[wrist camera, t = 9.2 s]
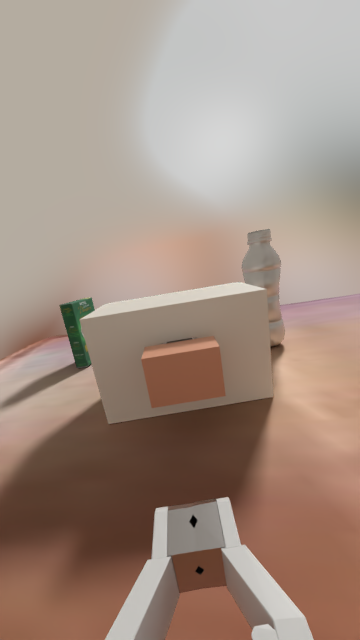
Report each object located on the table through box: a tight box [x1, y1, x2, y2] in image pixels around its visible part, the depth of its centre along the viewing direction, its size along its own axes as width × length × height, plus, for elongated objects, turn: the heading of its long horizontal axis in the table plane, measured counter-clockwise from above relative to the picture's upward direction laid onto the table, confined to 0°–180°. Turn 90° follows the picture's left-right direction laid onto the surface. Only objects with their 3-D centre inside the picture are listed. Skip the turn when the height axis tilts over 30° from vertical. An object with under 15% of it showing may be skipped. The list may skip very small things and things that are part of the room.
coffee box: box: [60, 298, 95, 368], centre depth 48 cm, size 8×3×13 cm, turn 173°
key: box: [141, 336, 226, 408], centre depth 25 cm, size 10×7×5 cm
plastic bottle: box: [242, 229, 285, 346], centre depth 40 cm, size 6×7×20 cm
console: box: [80, 282, 274, 424], centre depth 30 cm, size 10×20×13 cm, turn 92°
